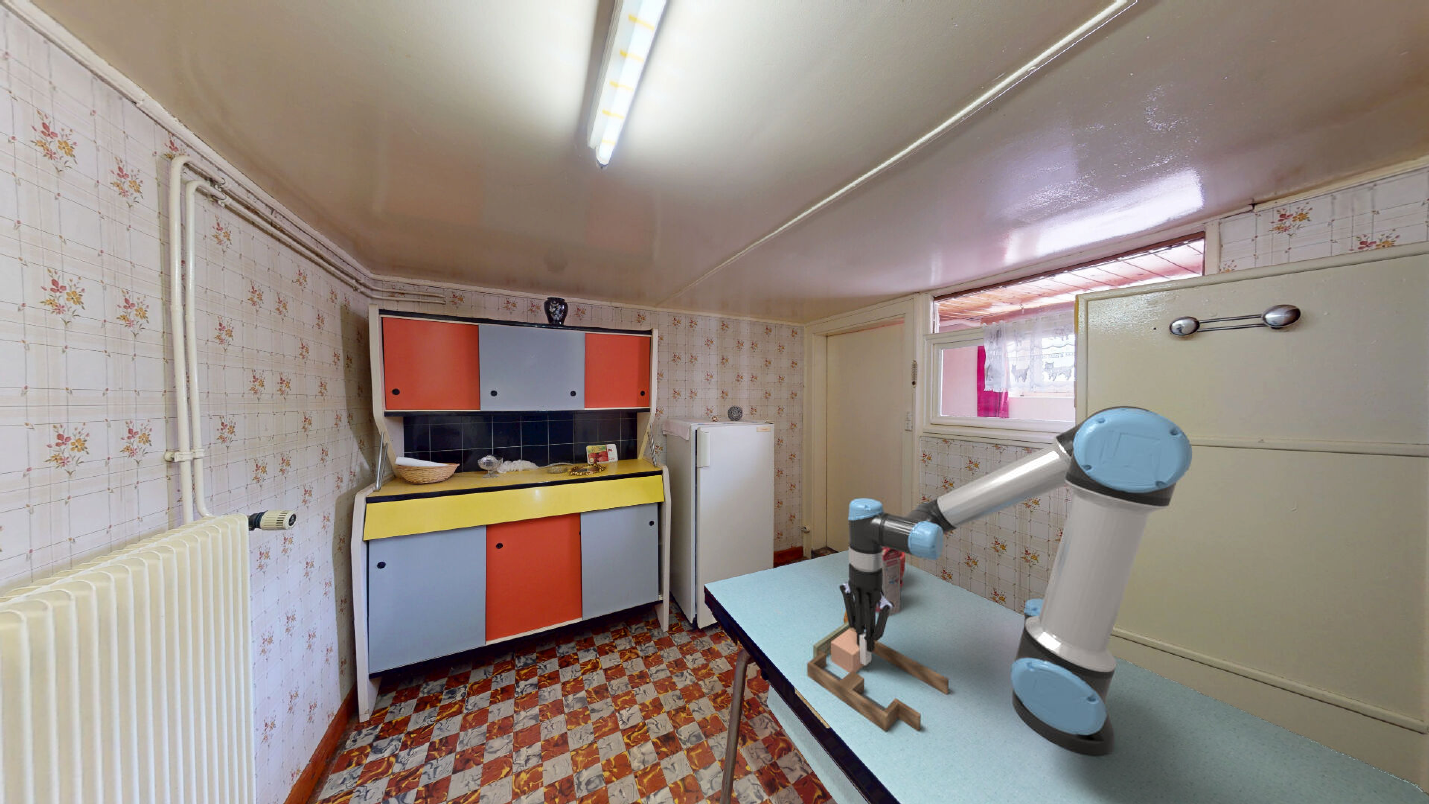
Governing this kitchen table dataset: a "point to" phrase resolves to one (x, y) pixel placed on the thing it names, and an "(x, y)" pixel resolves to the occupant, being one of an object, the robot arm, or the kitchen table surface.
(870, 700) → the mats
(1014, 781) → the kitchen table surface
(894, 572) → the juice carton
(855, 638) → the block
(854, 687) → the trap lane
